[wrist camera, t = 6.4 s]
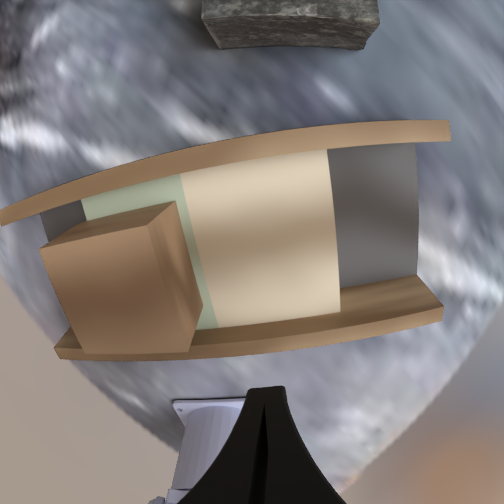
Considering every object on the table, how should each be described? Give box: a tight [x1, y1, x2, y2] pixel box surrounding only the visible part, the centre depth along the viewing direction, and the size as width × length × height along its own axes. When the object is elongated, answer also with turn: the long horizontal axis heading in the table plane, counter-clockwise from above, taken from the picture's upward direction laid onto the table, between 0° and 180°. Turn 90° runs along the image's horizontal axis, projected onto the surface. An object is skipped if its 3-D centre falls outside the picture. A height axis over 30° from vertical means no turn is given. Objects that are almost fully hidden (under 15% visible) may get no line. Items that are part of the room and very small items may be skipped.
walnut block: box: [39, 201, 203, 354], centre depth 14 cm, size 6×6×4 cm
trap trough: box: [0, 120, 451, 361], centre depth 16 cm, size 11×25×4 cm, turn 100°
